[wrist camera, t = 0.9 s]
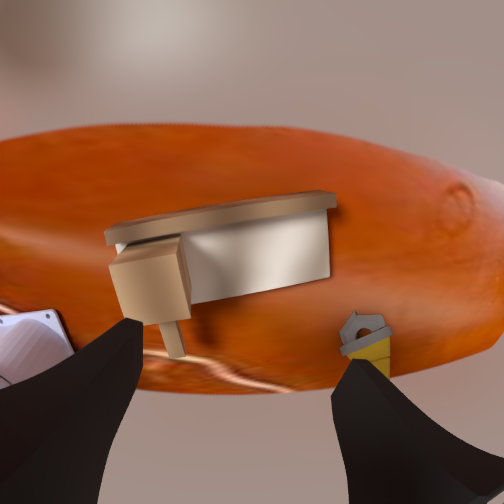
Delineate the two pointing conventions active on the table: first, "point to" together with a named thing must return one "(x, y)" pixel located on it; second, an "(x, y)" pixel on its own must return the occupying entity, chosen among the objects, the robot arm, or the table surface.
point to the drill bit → (367, 341)
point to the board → (243, 242)
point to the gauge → (155, 287)
